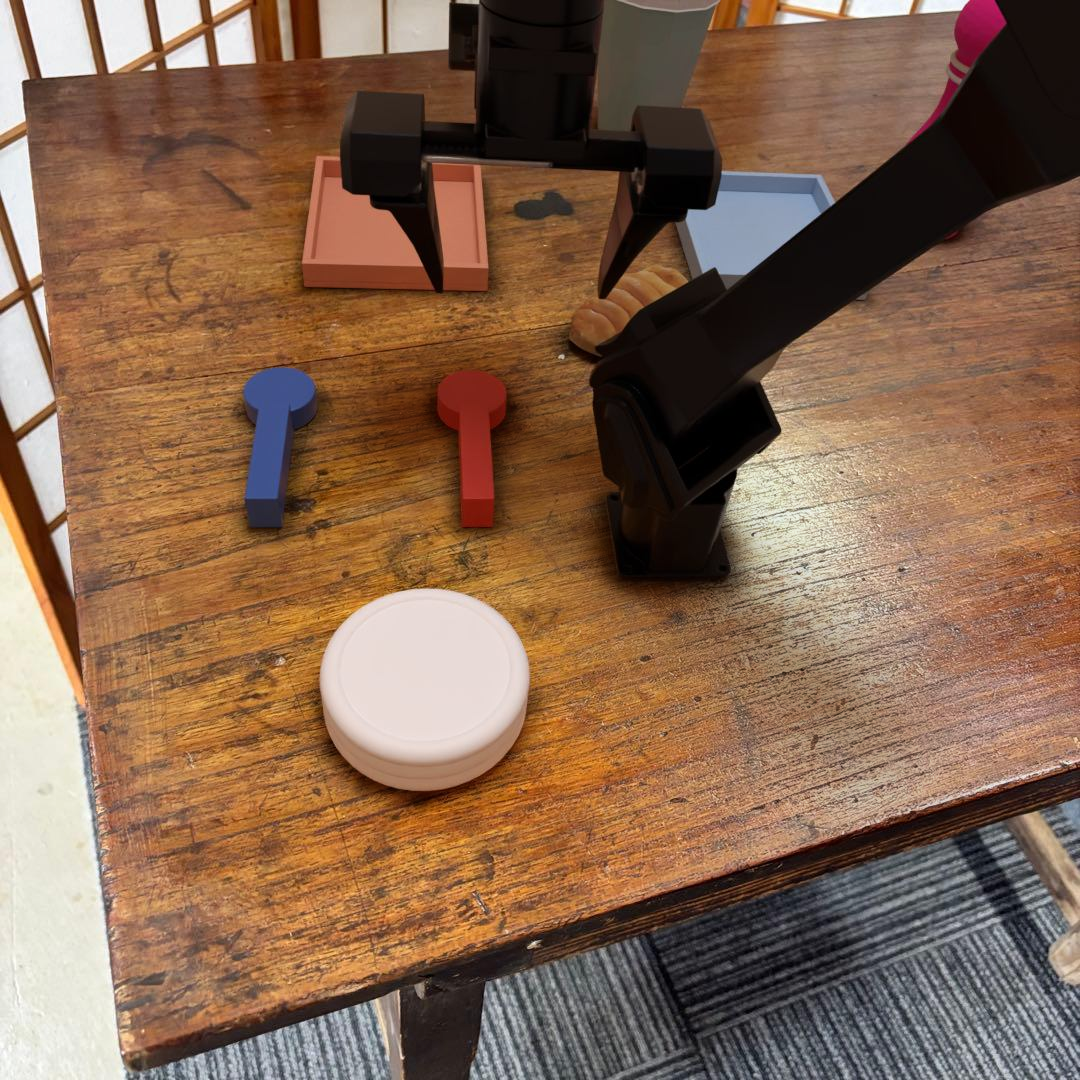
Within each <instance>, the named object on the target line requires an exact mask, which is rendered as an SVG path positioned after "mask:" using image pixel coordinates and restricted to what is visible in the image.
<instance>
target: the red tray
mask: <svg viewBox="0 0 1080 1080" xmlns="http://www.w3.org/2000/svg"><path fill="white" fill-rule="evenodd" d="M314 163H315V164H314V169H313V171H314V172H313V179H312V185H311V186H312V187H311V193H310V200H309V208H308V215H307V223H306V231H305V237H304V246H303V253H302V261H301V269H302V278H303V286H304V288H339V289H376V290H377V289H381V290H383V289H384V290H385V289H386V290H390V289H391V290H421V291H422V290H423V291H427V290H429V291H435V290H434V288H433V286H432V283H431V281H430V279H429V277H428V275H427V273H426V271H425V269H424V267H423V265H422V262H421V260H420V258H419V256H418V254H417V252H416V250H415V248H414V246H413V245H412V243H411V241H410V240H409V238H408V237H407V236H406V234H405V233H404V231H403V230H402V228H401V227H400V225H399V224H398V222H397V221H396V219H395V218H394V217H393V215H392V214H391V212H389V211H387V210H378V209H375V208H373V207H372V206H371V205H370V196H369V195H353V194H351V193H349V192H348V191H346V190H344V189H343V188H342V179H341V165H340V156H327V155H316V157H315V162H314ZM432 167H433V179H434V190H435V198H436V205H437V213H438V220H439V228H440V235H441V243H442V250H443V259H444V281H443V291H465V292H466V291H468V292H487V291H488V288H489V286H488V285H489V257H488V244H487V231H486V218H485V217H486V216H485V205H484V204H485V203H484V192H483V178H482V177H483V176H482V165H468V164H447V163H432Z"/></svg>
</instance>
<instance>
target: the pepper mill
mask: <svg viewBox="0 0 1080 1080" xmlns="http://www.w3.org/2000/svg"><path fill="white" fill-rule="evenodd" d="M1005 24H1006V21H1005V19H1004V17H1003V15H1002V13H1001V12H1000V10H999V8H998V6H997V4H996V2H995V0H968V1H967V2H966V3H965V4H964V6H963V7H962V9H961V11H960V12H959V13H958V16H957V19H956V20H955V25H954V30H953V36H954V41H955V43H956V46H957V49H955V50H954V51H952V53H950V56H949V57H950V59H949V60H950V61H949V63H948V64H947V65H946V67H945V73H946V75H947V77H948V78H947V81H946V84H945V87H944V91H943V93H942V96H941V98H940V100H939V102H938V104H937V106H936V107H935V109H934V110H933V112H932V114H931V115H930V117H929V118H928V119H926V121H925V122H924V123H923V124H922V126H921V127H920V128H919V129H918V130H916V132H915V133H914V134H913V135H912V136H911V137H910V138H909V139H908V141H907V142H906V144H904V147H905V146H906V145H907V144H908V143H909V142H911V141H912V140H913V139H914V138H916V137H917V136H918V135H919V134H921V133H922V132H923V131H924V130H926V129H927V128H928V127H929V126H930V125H931V124H932V123H933V122H934V121H935V120H936V119H937V117H938V116H939V115H940V114H941V113H942V111H943V110H944V108H945V107H946V105H947V104H948V102H949V100H950V99H951V97H952V96H953V94H954V92H955V91H956V89H957V88H958V86H959V85H960V83H961V81H962V80H963V78H964V77H965V75H966V73H967V72H968V70H969V69H970V67H971V65H972V64H973V62H974V61H975V59H976V58H977V57H978V56H979V55H980V53H981V52H982V51H983V50H984V49H985V48H986V46H987V45H988V44H989V43H990V42H991V41H992V39H993V38H994V37H995V36H996V35H997V34H998V32H999V31H1000V30H1001V29H1002V28H1003V27H1004V26H1005ZM958 232H959V230H958V231H957V232H955V233H954V234H952V235H951V236H949V237H948V238H946V239H945V240H949V239H951V238H952V237H954V236H955V235H957V234H958Z"/></svg>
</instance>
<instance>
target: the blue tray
mask: <svg viewBox="0 0 1080 1080" xmlns="http://www.w3.org/2000/svg"><path fill="white" fill-rule="evenodd" d="M835 202H836V200H835V199H834V197H833V195H832V193H831V191H830V189H829V187H828V186H827V183H826V181H825V179H824V178H823V175H822V174H814V173H813V174H812V173H810V174H809V173H784V172H757V171H729V170H722V176H721V181H720V185H719V190H718V194H717V199H716V203H715V205H714V206H712V207H711V208H709V209H707V210H690V209H688V214H687V218H686V220H684V221H683V222H679V223H675V226H676V230H677V234H678V236H679V240H680V243H681V246H682V250H683V252H684V256H685V259H686V263H687V267H688V270H689V272H690V276H691V278H692V279H691V280H693V279H694V278H696V277H698V276H699V275H701V274H703V273H705V272H706V271H708V270H710V269H712V268H713V267H715V268H716V269H717V271H718V273H719V275H720V277H721V279H722V281H723V283H724V285H725V287H726V289H729V288H730V287H731V286H732V285H734V284H735V283H736V282H737V281H739V280H740V279H741V278H742V277H744V276H745V275H746V274H747V273H749V272H750V271H751V270H752V269H753V268H755V267H756V266H757V265H758V264H760V263H761V262H762V261H763V260H765V259H766V258H767V257H768V256H770V255H771V254H772V253H773V252H775V251H776V250H777V249H778V248H779V247H781V246H782V245H783V244H784V243H786V242H787V241H788V240H789V239H791V238H792V237H793V236H794V235H796V234H797V233H798V232H799V231H801V230H802V229H803V228H804V227H805V226H807V225H808V224H809V223H810V222H812V221H813V220H814V219H815V218H817V217H818V216H819V215H820V214H822V213H823V212H824V211H825V210H827V209H828V208H829V207H830V206H831V205H833V204H834V203H835ZM868 293H869V291H867V292H866V293H864V294H863V295H861V296H860V297H858V298H857V299H856V301H857V300H858V301H865V300H866V299H867V297H868Z"/></svg>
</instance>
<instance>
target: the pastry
mask: <svg viewBox="0 0 1080 1080" xmlns="http://www.w3.org/2000/svg"><path fill="white" fill-rule="evenodd" d="M687 282H689V281H688V280H687V278H686V277H685V276H684V275H683V274H681V272H679V271H678V270H676V269H675V268H672V267H665V266H662V265H661V264H657V263H655V264H653V265H652V266H648V267H645V268H643V270H639V271H637V272H631V273H630V272H629V273H624V274H623V276H622V277H621V279H620V280H619V281H618V283H617V284H616V286H615V287H614V288H613V290H612V291H611V292H610V294H609V295H608V297H607V298H606V299H599V298H598V292H597V290H595V291H594V292H593V293H592V294H591V295H590V296H589V297H588V298H587V299H585V301H584V303H582V304H581V305H580V306H579V307H578V309H577V310H576V311H575V312H574V313H573V314H572V316H571V320H570V321H571V322H570V331H569V334H568V338H569V341H571V342H572V343H573V344H574V345H575V346H576V347H578V348H580V349H581V350H583V351H585V352H588V353H589V354H593V355H594V356H597V357H602V356H601V355H599V354H598V353H597V352H596V351H595V346H597V345H599V344H600V343H602V342H604V341H606V340H607V339H609V338H611V337H612V336H614V335H616V334H618V333H619V332H621V331H622V330H623V329H624V327H625V326H626V324H627V323H628V322H629V320H630V319H631V318H632V317H633V316H634V315H635V314H636V313H637V312H638V311H639V310H640V309H642V308H644V307H645V306H647V305H649V304H651V303H652V302H654V301H656V300H658V299H659V298H661V297H663V296H665V295H666V294H668V293H670V292H672V291H673V290H675V289H677V288H679V287H680V286H682V285H684V284H686V283H687ZM602 358H603V357H602Z"/></svg>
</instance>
